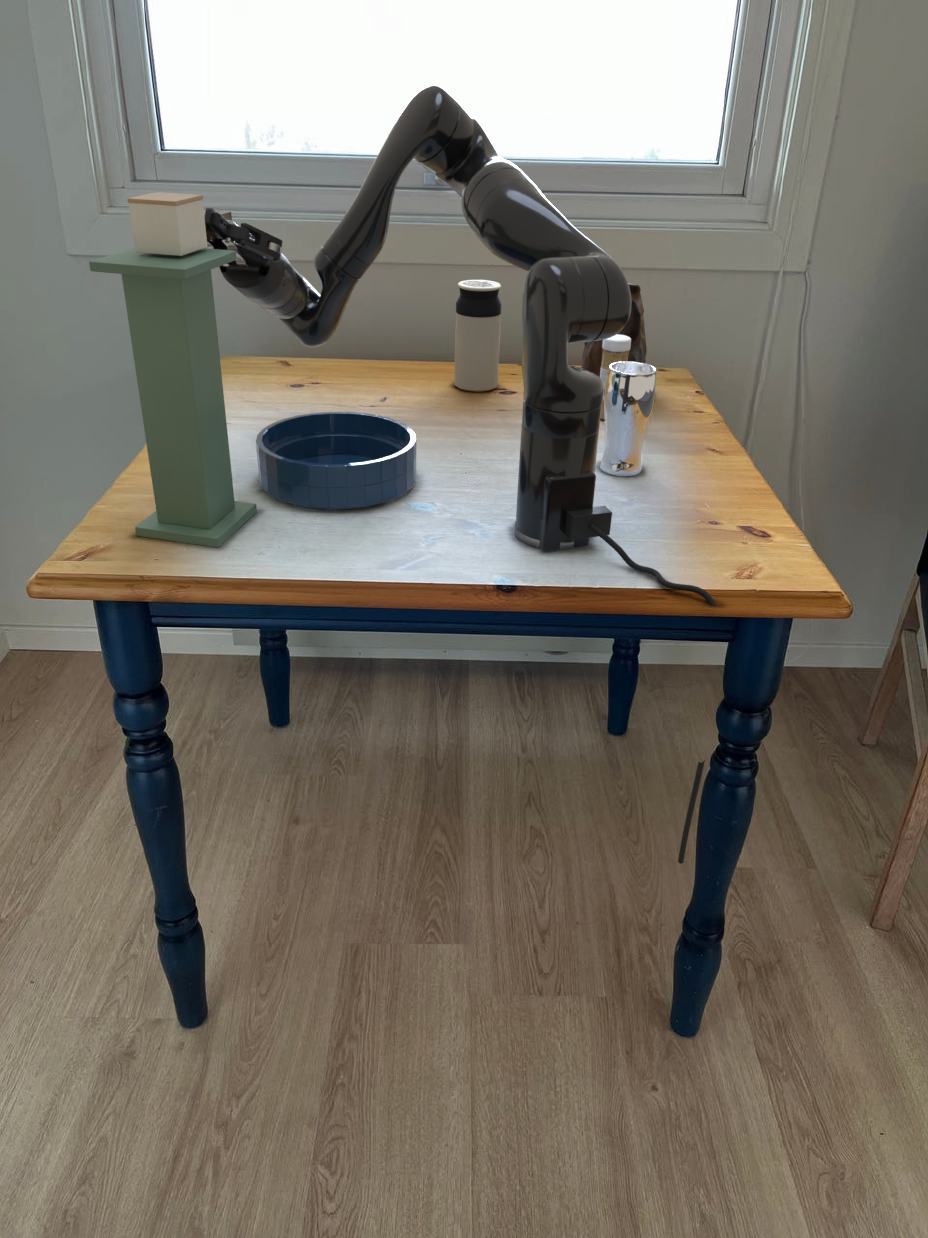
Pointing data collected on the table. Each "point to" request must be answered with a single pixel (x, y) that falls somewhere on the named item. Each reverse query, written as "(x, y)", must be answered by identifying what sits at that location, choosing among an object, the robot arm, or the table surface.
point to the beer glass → (627, 416)
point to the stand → (180, 393)
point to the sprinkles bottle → (613, 357)
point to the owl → (631, 329)
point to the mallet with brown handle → (169, 223)
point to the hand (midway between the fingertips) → (198, 215)
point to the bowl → (336, 460)
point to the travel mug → (477, 335)
